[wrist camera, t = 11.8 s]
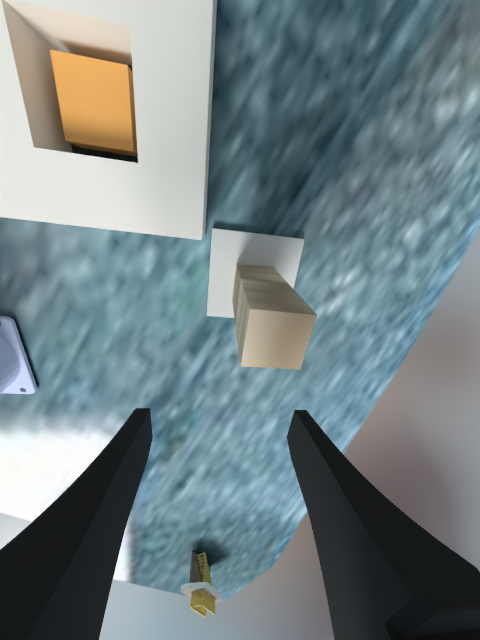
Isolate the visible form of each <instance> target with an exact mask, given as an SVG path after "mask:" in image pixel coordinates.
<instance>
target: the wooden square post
mask: <svg viewBox="0 0 480 640" xmlns="http://www.w3.org/2000/svg"><path fill="white" fill-rule="evenodd" d="M232 303H233V311H234V319H235V326H236V334H237V341H238V349H239V357H240V364H241V366H247V367H264V368H282V369H301V366H302V362H303V359H304V356H305V352H306V349H307V346H308V343H309V339H310V336H311V333H312V329H313V326H314V323H315V319H316V316H317V315H316V314H315V313H314V311H313V310H312V309H311V308H310V307H309V306H308V305H307V304H306V303H305V301H304V300H303V299H302V298H301V297H300V296H299V295H298V294H297V293H296V291H295V290H294V289H293V288H292V287H291V286H290V285H289V284H288V283H287V281H286V280H285V279H284V278H283V277H282V276H281V275H280V274H279V273H278V271H277V270H276V269H275V268H274V267H266V266H258V265H249V264H240V263H236V270H235V278H234V286H233V294H232Z"/></svg>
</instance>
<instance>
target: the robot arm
mask: <svg viewBox="0 0 480 640" xmlns="http://www.w3.org/2000/svg"><path fill="white" fill-rule="evenodd" d="M36 391H37V385H36V382H35V379H34V377H33V374H32V371H31V368H30V365H29V362H28V359H27V356H26V353H25V350H24V347H23V344H22V342H21V339H20V336H19V333H18V330H17V327H16V324H15V322H14V320H13V319H12V318H10V317H7V316H0V394H1V393H15V394H33V393H35V392H36ZM287 440H288V445H289V450H290V455H291V459H292V463H293V466H294V469H295V472H296V475H297V479H298V482H299V485H300V488H301V491H302V494H303V497H304V501H305V504H306V507H307V510H308V514H309V517H310V521H311V525H312V529H313V534H314V538H315V542H316V547H317V551H318V556H319V560H320V565H321V570H322V574H323V579H324V585H325V590H326V594H327V600H328V605H329V610H330V616H331V621H332V627H333V633H334V639H335V640H480V572H479V571H478V569H477V568H476V567H475V566H473V565H472V564H470V563H469V562H468V561H466V560H465V559H464V558H462V557H461V556H459V555H458V554H457V553H455V552H454V551H452V550H451V549H449V548H448V547H447V546H445V545H444V544H442V543H441V542H440V541H438V540H437V539H436V538H435V537H433V536H432V535H431V534H430V533H428V532H427V531H426V530H424V529H423V528H422V527H421V526H419V525H418V524H417V523H415V522H414V521H413V520H412V519H411V518H409V517H408V516H407V515H406V514H405V513H403V512H402V511H401V510H400V509H399V508H398V507H396V506H395V505H394V504H393V503H392V502H391V501H389V500H388V499H387V498H386V497H385V496H384V495H383V494H382V493H381V492H379V491H378V490H377V489H376V488H375V487H374V486H373V485H372V484H371V483H370V482H369V481H368V480H367V479H366V478H365V477H363V475H362V474H361V473H360V472H359V471H358V470H357V469H356V468H355V467H354V466H353V465H352V464H351V463H350V462H349V461H348V460H347V459H346V457H345V456H344V455H343V454H342V453H341V452H340V451H339V449H338V448H337V447H336V446H335V445H334V444H333V442H332V441H331V440H330V439H329V438H328V437H327V435H326V434H325V433H324V432H323V430H322V429H321V428H320V427H319V426H318V424H317V423H316V422H315V421H314V419H313V418H312V417H311V416H310V414H309V413H308V412H307V411H306V410H295V411H294V414H293V418H292V421H291V425H290V428H289V432H288V435H287ZM151 442H152V426H151V415H150V408H136V409H135V410H134V411H133V413H132V414H131V415H130V417H129V418H128V420H127V421H126V422H125V424H124V425H123V426H122V427H121V429H120V430H119V431H118V433H117V434H116V435H115V436H114V438H113V439H112V440H111V441H110V442H109V444H108V445H107V446H106V447H105V448H104V450H103V451H102V452H101V453H100V454H99V455H98V457H97V458H96V459H95V460H94V461H93V462H92V463H91V464H90V465H89V467H88V468H87V469H86V470H85V471H84V472H83V473H82V474H81V475H80V476H79V477H78V478H77V479H76V481H75V482H74V483H73V484H72V485H71V486H70V487H69V488H68V489H67V490H66V491H65V492H64V493H63V494H62V495H61V496H60V497H59V498H58V499H57V500H56V501H54V502H53V503H52V504H51V505H50V506H49V507H48V508H47V509H46V510H45V511H44V512H43V513H42V514H41V515H40V516H38V517H37V518H36V519H35V520H34V521H33V522H32V523H31V524H30V525H29V526H28V527H26V528H25V529H24V530H23V531H22V532H21V533H19V534H18V535H17V536H16V537H15V538H14V539H13V540H11V541H10V542H9V543H8V544H7V545H6V546H4V547H3V548H2V549H1V550H0V640H99V636H100V631H101V627H102V623H103V618H104V614H105V609H106V605H107V600H108V596H109V592H110V588H111V584H112V579H113V575H114V571H115V567H116V563H117V559H118V555H119V551H120V547H121V543H122V539H123V535H124V531H125V527H126V524H127V521H128V517H129V514H130V511H131V508H132V505H133V502H134V499H135V496H136V493H137V490H138V487H139V484H140V481H141V478H142V475H143V472H144V469H145V466H146V463H147V460H148V455H149V451H150V447H151Z"/></svg>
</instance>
